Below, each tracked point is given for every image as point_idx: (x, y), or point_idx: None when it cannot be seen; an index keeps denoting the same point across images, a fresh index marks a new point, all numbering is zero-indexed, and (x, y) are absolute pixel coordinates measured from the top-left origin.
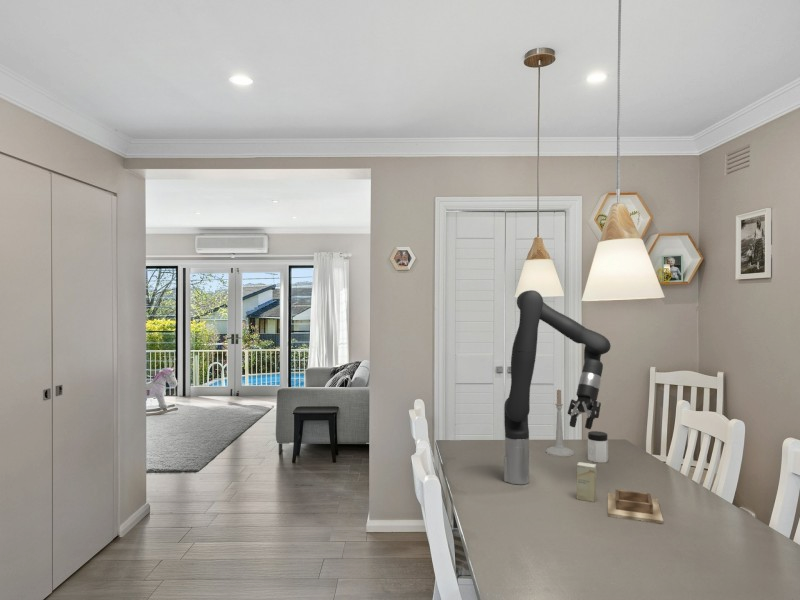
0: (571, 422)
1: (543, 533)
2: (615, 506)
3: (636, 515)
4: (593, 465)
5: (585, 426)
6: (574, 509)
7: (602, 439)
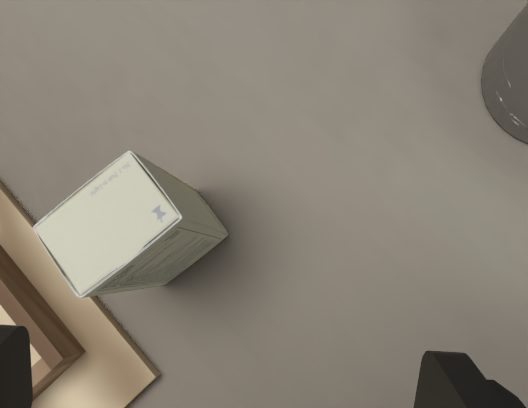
0: (448, 384)
1: None
2: (14, 258)
3: None
4: (68, 256)
5: (4, 325)
6: (110, 94)
7: None
